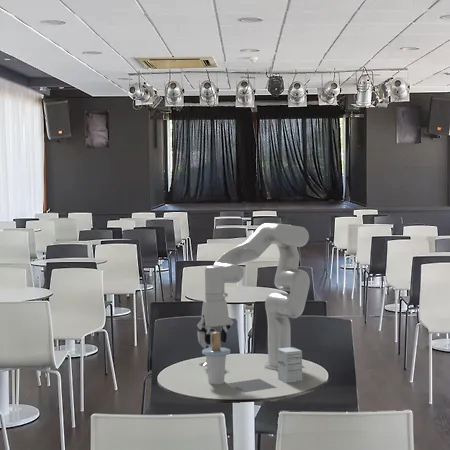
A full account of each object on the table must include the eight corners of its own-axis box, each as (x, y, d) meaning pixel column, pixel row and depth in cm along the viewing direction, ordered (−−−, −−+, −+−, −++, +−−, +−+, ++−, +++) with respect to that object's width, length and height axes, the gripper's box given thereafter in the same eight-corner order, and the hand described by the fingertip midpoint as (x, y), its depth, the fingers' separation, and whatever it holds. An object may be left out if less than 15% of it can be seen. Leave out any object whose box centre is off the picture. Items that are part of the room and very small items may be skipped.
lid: (222, 348, 313) (222, 328, 312) (234, 354, 303) (234, 333, 302) (197, 351, 308) (197, 331, 308) (209, 357, 298) (208, 336, 298)
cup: (224, 386, 302) (223, 355, 301) (204, 385, 303) (203, 354, 303) (228, 380, 310) (227, 350, 309) (208, 379, 311) (208, 350, 310)
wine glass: (205, 361, 342) (205, 327, 341) (220, 363, 337) (219, 329, 336) (194, 364, 336) (193, 330, 335) (209, 367, 331) (208, 332, 330)
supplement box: (277, 379, 310) (277, 348, 309) (293, 377, 313) (293, 346, 312) (286, 384, 303) (285, 352, 302) (302, 381, 306) (302, 350, 305)
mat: (259, 379, 310) (259, 378, 310) (276, 388, 297) (276, 387, 297) (227, 384, 304) (227, 383, 304) (243, 393, 291) (243, 392, 291)
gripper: (230, 294, 311) (231, 338, 312) (190, 297, 304) (191, 343, 305) (239, 296, 304) (239, 342, 306) (198, 300, 297) (199, 347, 298)
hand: (215, 342), depth 305 cm, fingers open, 6 cm apart
